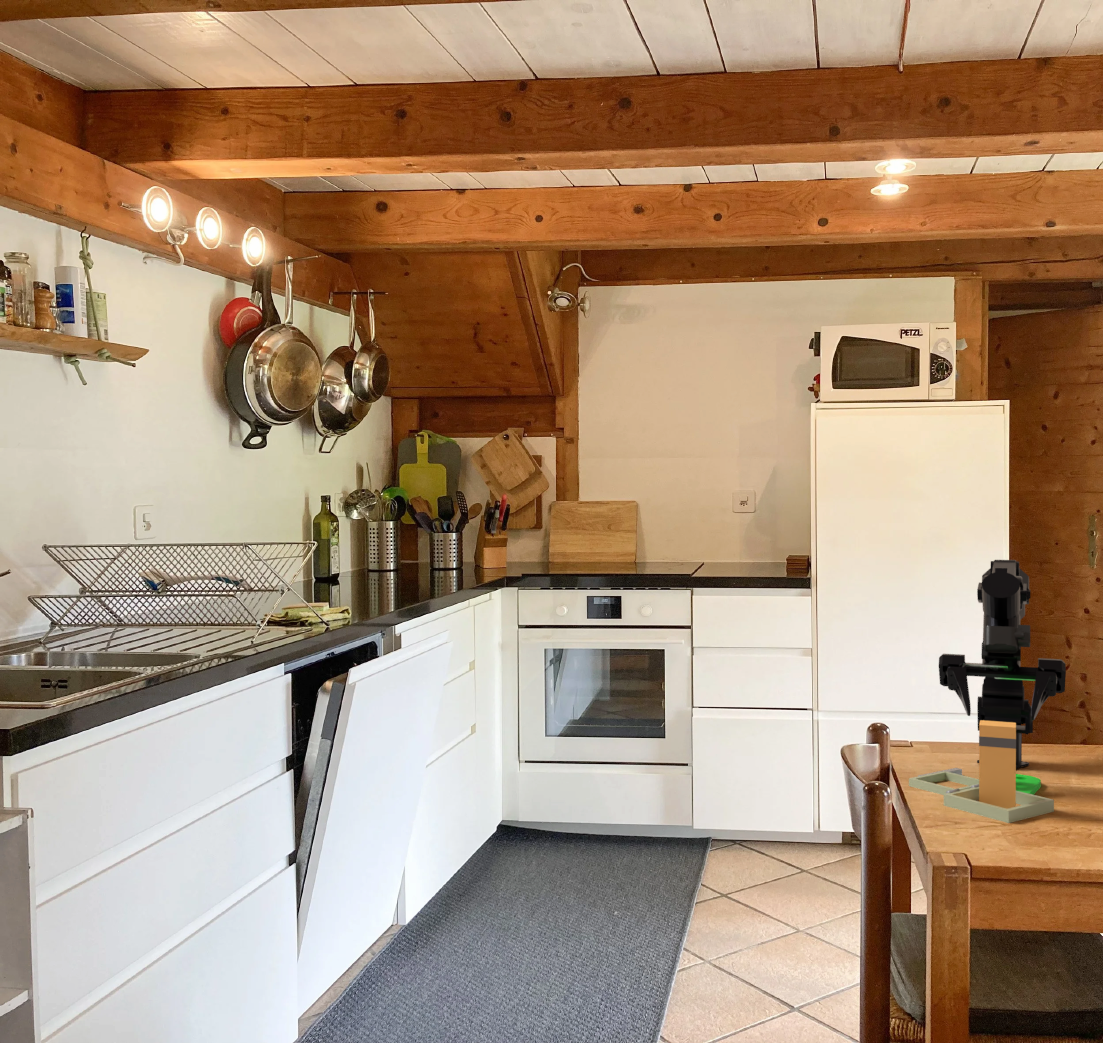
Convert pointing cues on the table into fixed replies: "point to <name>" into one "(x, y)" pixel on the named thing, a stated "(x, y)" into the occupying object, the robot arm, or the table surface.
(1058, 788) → the table surface
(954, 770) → the stay rod
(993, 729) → the block
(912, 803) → the table surface
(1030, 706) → the robot arm
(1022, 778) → the mechanical part
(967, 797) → the case
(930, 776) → the lid
